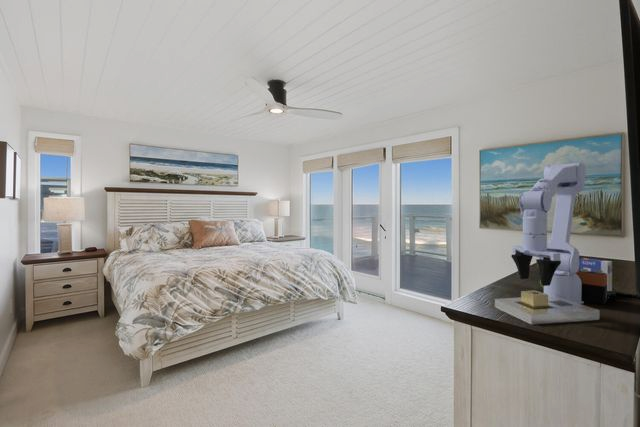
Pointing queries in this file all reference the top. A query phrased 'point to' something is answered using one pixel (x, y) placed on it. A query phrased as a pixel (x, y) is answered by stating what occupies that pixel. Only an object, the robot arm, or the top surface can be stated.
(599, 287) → the battery
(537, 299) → the tan rectangular block
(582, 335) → the top surface
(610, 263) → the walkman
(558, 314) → the rail plate
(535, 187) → the robot arm
